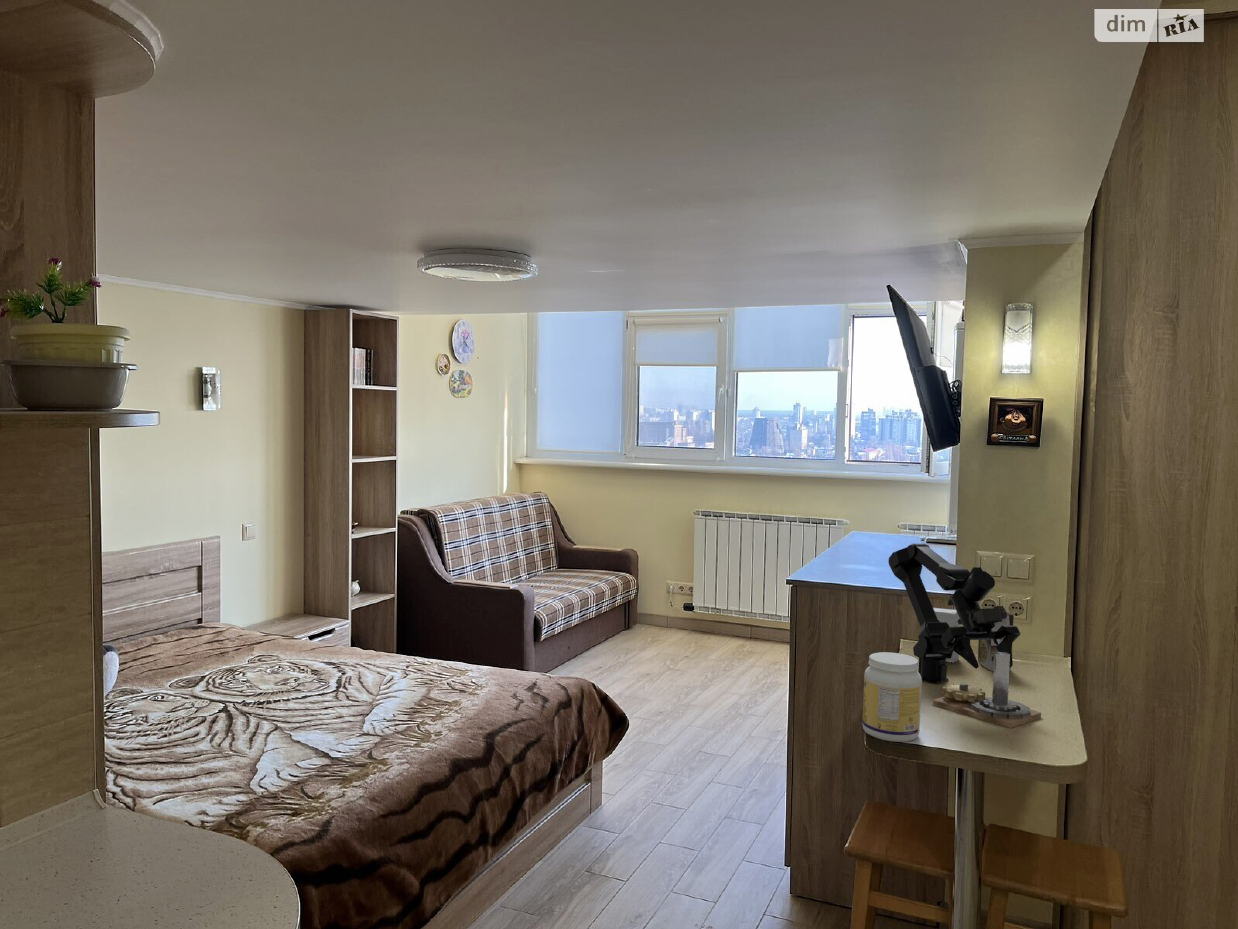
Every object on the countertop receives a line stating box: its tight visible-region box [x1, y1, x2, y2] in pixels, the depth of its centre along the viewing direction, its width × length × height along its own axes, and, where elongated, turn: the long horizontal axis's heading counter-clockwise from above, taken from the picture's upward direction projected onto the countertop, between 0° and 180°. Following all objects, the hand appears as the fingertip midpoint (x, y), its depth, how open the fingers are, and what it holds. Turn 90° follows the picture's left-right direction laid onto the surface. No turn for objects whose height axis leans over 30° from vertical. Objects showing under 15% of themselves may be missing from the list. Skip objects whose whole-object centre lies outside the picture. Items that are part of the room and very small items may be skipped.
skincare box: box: [933, 607, 960, 664], centre depth 259 cm, size 8×6×15 cm
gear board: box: [932, 683, 1042, 729], centre depth 212 cm, size 21×14×5 cm, turn 37°
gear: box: [983, 652, 1017, 712], centre depth 208 cm, size 7×7×14 cm
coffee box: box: [977, 611, 1015, 672], centre depth 252 cm, size 9×6×16 cm
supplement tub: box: [861, 651, 923, 743], centre depth 193 cm, size 12×12×17 cm
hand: (994, 667), depth 211 cm, fingers open, 9 cm apart
